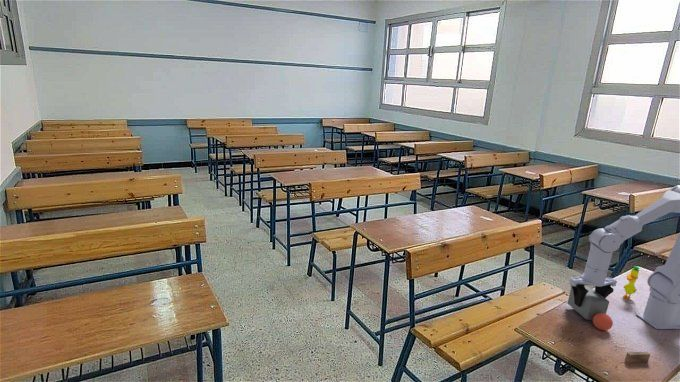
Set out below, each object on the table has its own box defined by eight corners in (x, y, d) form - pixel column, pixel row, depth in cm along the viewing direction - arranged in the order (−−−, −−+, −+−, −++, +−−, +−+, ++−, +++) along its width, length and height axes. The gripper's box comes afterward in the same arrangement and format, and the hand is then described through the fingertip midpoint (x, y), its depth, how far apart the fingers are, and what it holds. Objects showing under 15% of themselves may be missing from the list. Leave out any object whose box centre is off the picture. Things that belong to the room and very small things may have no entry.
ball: (601, 323, 119) (605, 309, 118) (614, 333, 115) (618, 319, 113) (587, 323, 119) (591, 309, 117) (599, 334, 114) (603, 319, 113)
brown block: (644, 359, 104) (647, 351, 103) (647, 362, 103) (650, 354, 102) (624, 360, 103) (627, 352, 103) (627, 362, 102) (630, 354, 102)
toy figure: (627, 302, 132) (636, 271, 129) (616, 297, 135) (624, 266, 132) (636, 297, 136) (645, 267, 132) (625, 293, 139) (634, 263, 135)
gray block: (583, 303, 128) (588, 286, 126) (604, 319, 119) (609, 301, 117) (567, 303, 127) (571, 286, 125) (586, 319, 118) (591, 301, 117)
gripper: (608, 260, 123) (598, 298, 127) (566, 260, 122) (557, 298, 125) (626, 271, 116) (615, 310, 120) (582, 271, 115) (572, 310, 119)
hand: (586, 305), depth 122 cm, fingers closed on gray block, 6 cm apart
